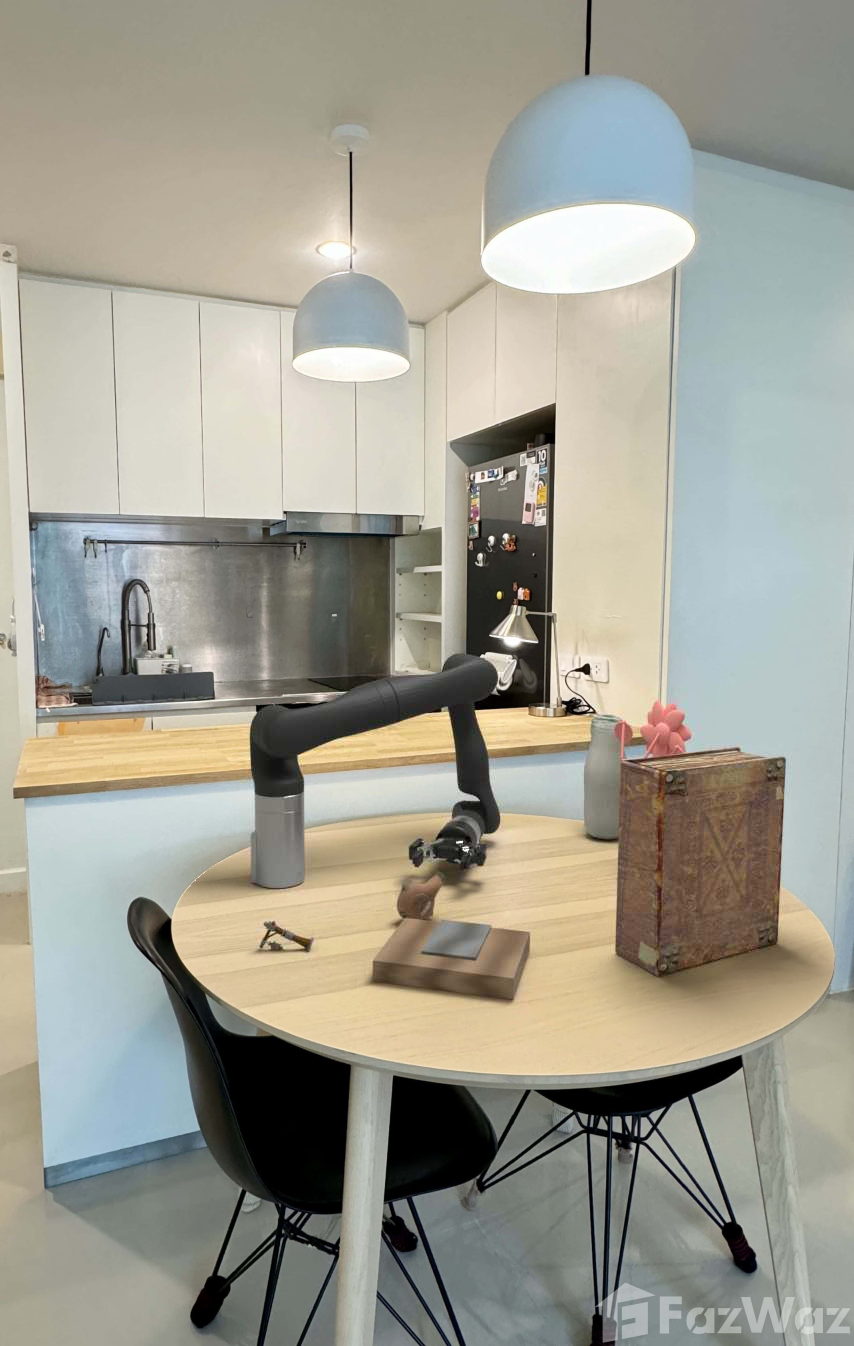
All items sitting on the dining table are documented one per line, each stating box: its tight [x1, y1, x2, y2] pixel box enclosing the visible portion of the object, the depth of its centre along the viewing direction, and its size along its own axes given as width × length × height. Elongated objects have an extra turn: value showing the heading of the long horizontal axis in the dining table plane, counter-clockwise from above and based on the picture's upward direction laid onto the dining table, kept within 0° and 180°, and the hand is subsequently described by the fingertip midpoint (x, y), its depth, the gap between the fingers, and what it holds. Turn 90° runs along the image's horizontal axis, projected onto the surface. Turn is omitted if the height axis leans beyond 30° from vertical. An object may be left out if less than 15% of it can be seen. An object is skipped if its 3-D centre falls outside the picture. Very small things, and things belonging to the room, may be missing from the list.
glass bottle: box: [583, 714, 628, 840], centre depth 185 cm, size 10×10×28 cm
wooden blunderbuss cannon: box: [259, 920, 315, 953], centre depth 127 cm, size 2×8×4 cm, turn 91°
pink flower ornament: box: [614, 699, 692, 761], centre depth 156 cm, size 15×26×35 cm, turn 25°
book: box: [614, 746, 787, 978], centre depth 127 cm, size 25×9×30 cm, turn 118°
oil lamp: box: [396, 870, 447, 920], centre depth 138 cm, size 9×4×8 cm, turn 117°
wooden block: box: [372, 918, 531, 1001], centre depth 122 cm, size 20×16×3 cm
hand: (439, 864), depth 149 cm, fingers open, 8 cm apart
